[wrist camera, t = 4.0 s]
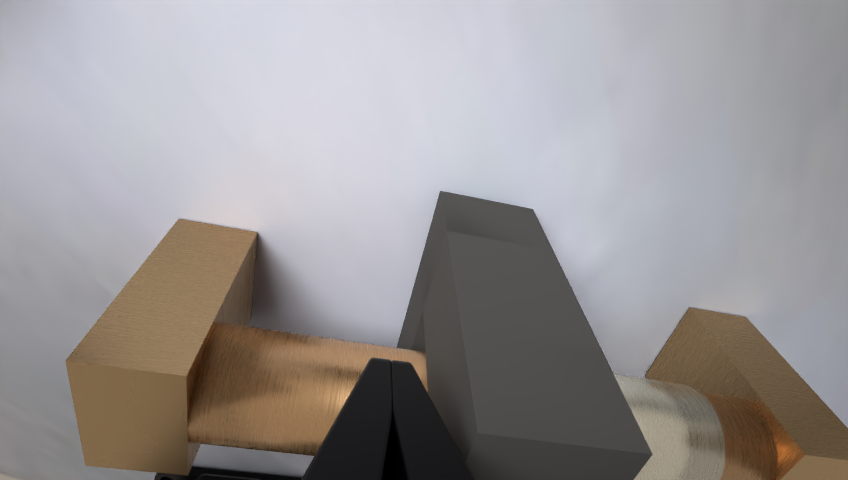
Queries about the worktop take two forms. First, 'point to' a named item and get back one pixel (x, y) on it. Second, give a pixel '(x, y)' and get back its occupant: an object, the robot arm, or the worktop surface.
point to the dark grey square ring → (515, 352)
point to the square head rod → (345, 360)
